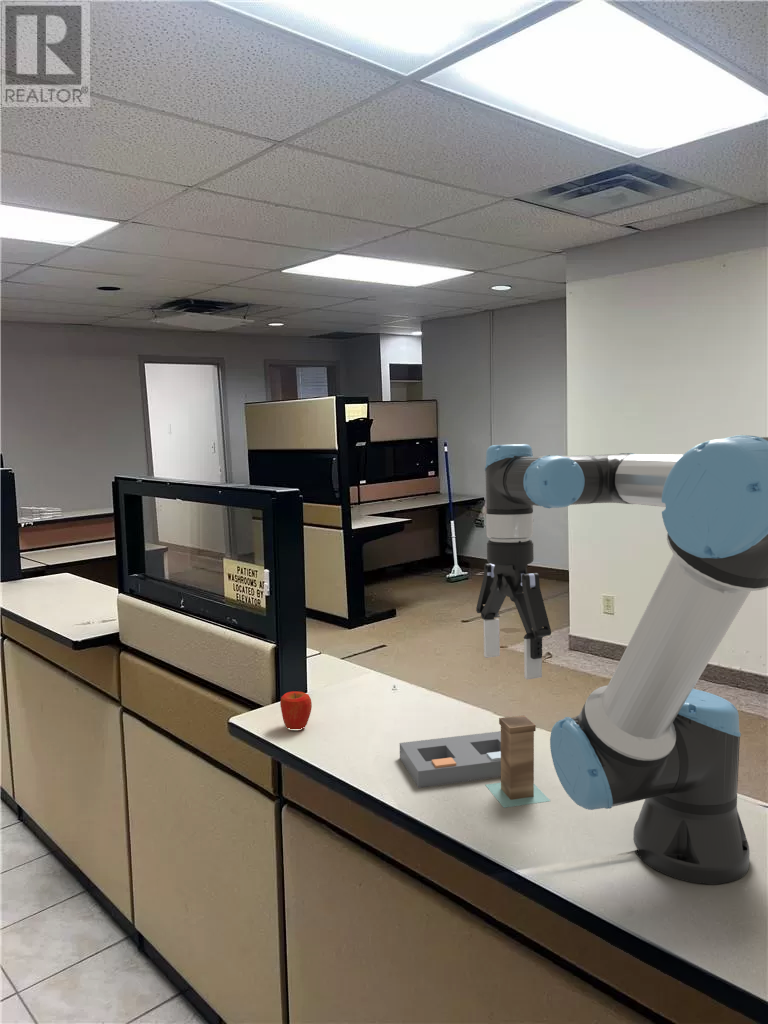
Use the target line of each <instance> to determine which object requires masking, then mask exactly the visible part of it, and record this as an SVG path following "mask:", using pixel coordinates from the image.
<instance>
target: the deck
mask: <svg viewBox="0 0 768 1024" xmlns="http://www.w3.org/2000/svg"><path fill="white" fill-rule="evenodd" d="M484 786H485V787H486V788H487V789H488V790H489V792H490V793H491V794H492V795H493V797H494V798H495V799H496V800H497V801H498V803H499V804H500V805H501V806H502V808H504V809H507V808H513V807H519V806H525V805H533V804H541V803H546V802H551V799H550V798H549V797H548V796H547V795H546V794H545V793H544V792H543V791H542V790H541V789H540V788H539V787H538V786H537V785H536V784H535V783H534V797H528V798H520V799H513V800H510V799H509V797H508V796H507V795H506V794H505V793H504V792H503V790H502V789H501V782H496V783H488V784H487V783H486V784H485V785H484Z"/></svg>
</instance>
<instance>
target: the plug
mask: <svg viewBox="0 0 768 1024" xmlns="http://www.w3.org/2000/svg"><path fill="white" fill-rule="evenodd" d="M498 719H499V720H498V725H500V731H501V777H500V783H501V789H502V790H503V792H504V793H505V794H506V795H507V796H508V797H509V799H510V800H513V799H520V798H528V797H534V784H535V782H534V781H535V779H534V778H535V777H534V776H535V773H534V772H535V743H534V742H535V732H536V731H537V728H536V727H537V725H536V724H535V723H534V722H533V721H531V720H530V719H529V718H528V717H527V716H526V715H524V714H523V715H514V716H513V715H512V716H504V717H499V718H498Z"/></svg>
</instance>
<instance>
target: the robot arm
mask: <svg viewBox="0 0 768 1024" xmlns="http://www.w3.org/2000/svg"><path fill="white" fill-rule="evenodd" d="M485 453H486V454H485V455H486V456H485V466H484V472H485V473H484V474H485V502H486V503H485V505H486V514H485V516H486V517H485V518H486V519H485V520H486V522H485V523H486V525H485V527H486V537H487V538H488V541H487V542H486V560H487V561H486V562H488V563H485V564H484V566H483V578H482V582H481V586H480V587H481V588H480V591H479V595H478V600H477V603H476V607H475V610H476V613H477V614H480V617H481V619H482V620H483V657H484V658H496V657H500V656H501V655H500V654H501V653H500V652H501V650H500V649H501V648H500V647H501V643H500V641H501V640H500V639H501V637H500V633H501V632H500V631H501V630H500V619H499V618H500V617H501V616H500V614H499V612H500V610H501V609H502V606H503V603H504V602H505V600H506V597H508V598H509V600H510V601H511V602H513V603H514V604H515V607H516V609H517V610H516V611H517V613H518V615H519V617H520V621H521V622H522V625H523V627H524V628H523V629H524V631H525V633H526V634H525V635H524V636H523V648H524V649H523V650H524V651H523V658H524V659H523V660H524V661H523V662H524V664H523V666H524V669H523V670H524V673H523V674H524V679H525V680H531V679H538V678H543V661H542V660H543V638H544V637H547V636H551V635H552V629H551V626H550V621H549V617H548V614H547V609H546V607H545V603H544V602H545V601H544V598H543V595H542V590H541V587H540V586H541V585H540V576H539V573H538V572H533V573H528V569H527V566H528V565H529V564H532V563H533V562H534V542H533V541H532V540H531V538H532V537H533V536H534V520H535V519H534V517H533V516H534V514H533V513H534V506H538V507H543V508H545V509H552V508H553V509H555V508H556V509H559V508H565V507H569V506H572V505H573V506H574V505H590V504H623V505H624V504H625V505H638V506H639V505H641V506H649V507H658V508H659V507H661V508H664V510H662V511H661V518H662V521H663V524H664V528H665V530H666V532H667V534H666V540H667V545H668V547H669V549H670V551H671V552H672V556H671V558H670V560H669V561H668V564H667V565H666V568H665V570H664V571H663V574H662V576H661V578H660V580H659V582H658V584H657V586H656V588H655V590H654V592H653V593H652V596H651V598H650V600H649V602H648V605H646V608H645V610H644V612H643V614H642V616H641V618H640V620H639V621H638V624H637V626H636V628H635V630H634V631H633V634H632V636H631V638H630V640H629V642H628V644H627V646H626V648H625V649H624V652H623V654H622V656H621V658H620V660H619V661H618V664H617V666H616V668H615V670H614V672H613V674H612V676H611V678H610V681H609V682H608V683H607V685H603V686H599V687H597V688H596V689H594V690H593V691H592V692H591V693H590V694H589V696H587V698H586V700H585V703H584V704H583V707H582V708H581V711H580V713H579V714H578V715H576V716H574V717H570V716H565V717H564V718H562V719H559V720H558V721H556V722H555V723H554V725H553V726H552V729H551V733H550V737H549V745H550V746H549V747H550V753H551V760H552V763H553V767H554V770H555V773H556V775H557V777H558V780H559V782H560V785H561V786H562V788H563V789H564V791H565V793H566V795H567V796H568V797H569V798H570V799H571V800H572V801H573V802H574V803H575V804H576V805H577V806H579V807H581V808H583V809H585V810H587V811H589V810H590V811H593V810H594V811H595V810H600V809H605V810H609V809H612V808H613V807H616V806H621V805H622V806H623V805H626V804H629V803H634V802H638V801H642V800H644V801H643V804H642V807H641V810H640V812H639V816H638V819H637V821H636V822H635V824H634V827H633V842H634V844H635V846H636V848H637V849H634V851H635V853H636V854H637V856H638V857H639V858H640V859H641V860H642V861H643V863H645V864H647V866H649V867H651V868H652V869H654V870H656V871H658V872H660V873H662V874H664V875H666V876H668V877H671V878H674V879H678V880H680V881H685V882H691V883H696V884H703V885H704V884H706V885H713V884H714V885H717V884H725V883H726V884H727V883H730V882H734V881H736V880H739V879H741V878H742V877H744V876H745V875H746V874H747V873H748V871H749V870H750V869H749V868H750V854H751V853H750V851H751V850H750V846H749V842H748V839H747V836H746V832H745V830H744V827H743V823H742V820H741V816H740V814H739V811H738V810H739V809H738V786H739V783H738V781H739V764H740V762H739V761H740V743H741V742H740V739H741V735H742V734H741V731H740V715H739V711H738V708H736V706H735V705H734V704H733V703H732V702H730V701H729V700H727V699H726V698H724V697H721V696H719V695H716V694H714V693H711V692H707V691H705V690H701V689H696V688H695V686H696V684H697V683H698V681H699V679H700V677H701V676H702V674H703V673H704V671H705V669H706V667H707V665H708V664H709V662H710V661H711V660H712V657H713V655H714V653H715V652H716V651H717V649H718V647H719V646H720V644H721V642H722V641H723V639H724V637H725V635H726V634H727V632H728V630H729V629H730V627H731V625H732V624H733V622H734V621H735V619H736V617H737V615H738V613H739V612H740V610H741V609H742V607H743V605H744V603H745V602H746V601H747V599H748V598H749V596H750V593H751V592H753V591H756V592H757V591H762V590H766V589H768V436H763V437H762V436H761V437H760V436H756V435H747V434H746V435H744V434H740V435H739V434H738V435H732V436H729V437H724V438H715V439H710V440H706V441H704V442H701V443H699V444H695V446H693V447H691V448H690V449H688V450H687V451H686V452H685V453H670V454H669V453H667V454H665V453H664V454H663V453H660V454H659V453H651V454H650V453H648V454H647V453H632V452H630V453H629V452H628V453H627V452H626V453H614V454H610V453H609V454H593V455H592V454H591V455H590V454H582V455H581V454H579V455H572V454H571V455H557V454H555V455H550V454H549V455H539V456H533V449H532V447H531V446H530V444H527V443H521V444H493V445H490V446H488V448H487V449H486V452H485Z"/></svg>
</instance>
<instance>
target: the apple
mask: <svg viewBox="0 0 768 1024" xmlns="http://www.w3.org/2000/svg"><path fill="white" fill-rule="evenodd" d="M279 705H280V710H281V716H282V721H283V723H284V726H285V727H287V728H290V729H301V728H303V727H305V728H306V726H307V725H308V722H309V718H310V716H311V713H312V707H313V706H312V705H313V704H312V699H311V696H310V694H308V693H306V692H303V691H296V690H295V691H294V690H293V691H288V692H286V693H284V694H283V695H282V696H281V697H280V704H279ZM287 728H286V729H287ZM303 729H304V728H303Z"/></svg>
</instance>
